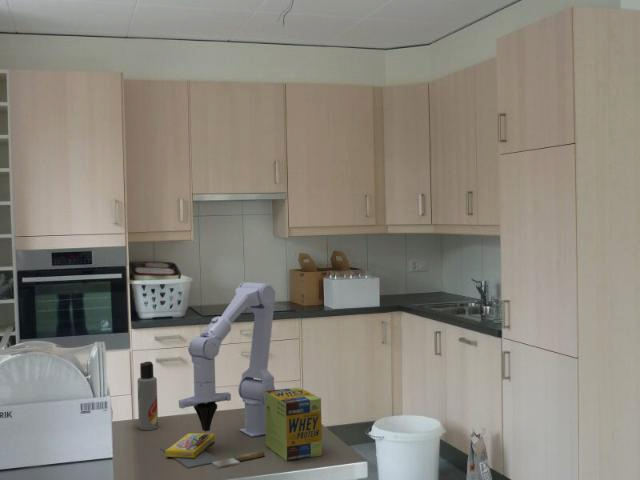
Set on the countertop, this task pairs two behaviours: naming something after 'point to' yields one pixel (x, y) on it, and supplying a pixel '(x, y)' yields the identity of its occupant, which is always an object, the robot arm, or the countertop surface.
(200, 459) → the mat
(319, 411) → the protein box
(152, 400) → the lotion bottle
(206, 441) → the candy box
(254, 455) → the turner
